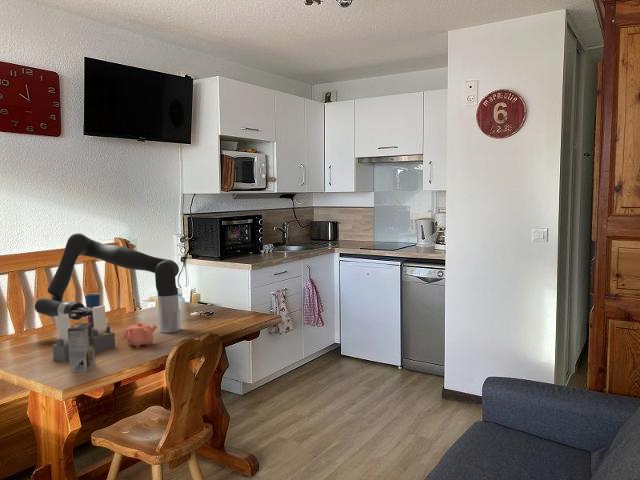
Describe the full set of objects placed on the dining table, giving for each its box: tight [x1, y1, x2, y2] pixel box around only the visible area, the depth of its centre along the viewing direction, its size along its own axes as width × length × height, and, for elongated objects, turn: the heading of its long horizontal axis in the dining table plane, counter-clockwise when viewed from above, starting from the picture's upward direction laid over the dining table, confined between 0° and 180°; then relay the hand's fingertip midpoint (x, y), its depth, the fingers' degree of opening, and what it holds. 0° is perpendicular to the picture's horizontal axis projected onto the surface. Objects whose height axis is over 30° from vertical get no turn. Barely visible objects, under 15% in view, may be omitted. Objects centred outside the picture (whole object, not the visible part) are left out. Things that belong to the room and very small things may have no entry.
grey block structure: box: [52, 325, 116, 363], centre depth 220 cm, size 7×24×8 cm, turn 152°
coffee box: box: [68, 322, 96, 373], centre depth 200 cm, size 9×6×16 cm
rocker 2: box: [92, 305, 108, 334], centre depth 226 cm, size 2×5×11 cm, turn 152°
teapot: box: [123, 321, 158, 349], centre depth 231 cm, size 12×12×10 cm
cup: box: [84, 292, 101, 326], centre depth 270 cm, size 7×7×15 cm
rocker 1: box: [54, 313, 72, 344], centre depth 213 cm, size 2×5×11 cm, turn 151°
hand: (97, 313), depth 227 cm, fingers closed
